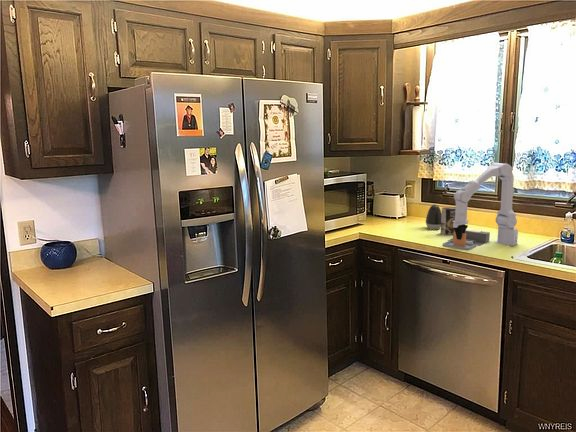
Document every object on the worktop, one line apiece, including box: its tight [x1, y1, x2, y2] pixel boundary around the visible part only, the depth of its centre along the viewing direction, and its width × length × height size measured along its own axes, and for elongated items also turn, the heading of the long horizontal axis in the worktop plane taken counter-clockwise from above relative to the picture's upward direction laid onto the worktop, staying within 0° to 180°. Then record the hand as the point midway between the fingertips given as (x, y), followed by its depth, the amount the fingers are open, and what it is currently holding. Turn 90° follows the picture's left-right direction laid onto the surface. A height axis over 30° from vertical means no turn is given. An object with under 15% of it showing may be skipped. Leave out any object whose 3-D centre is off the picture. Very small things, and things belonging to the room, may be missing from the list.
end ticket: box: [452, 232, 466, 247], centre depth 243 cm, size 6×2×7 cm, turn 47°
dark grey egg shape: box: [425, 204, 442, 230], centre depth 287 cm, size 10×10×15 cm
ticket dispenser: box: [447, 228, 491, 247], centre depth 253 cm, size 18×13×6 cm
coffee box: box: [440, 206, 456, 236], centre depth 270 cm, size 9×6×16 cm
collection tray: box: [442, 239, 478, 251], centre depth 243 cm, size 14×10×2 cm
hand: (459, 238), depth 243 cm, fingers closed on end ticket, 2 cm apart
